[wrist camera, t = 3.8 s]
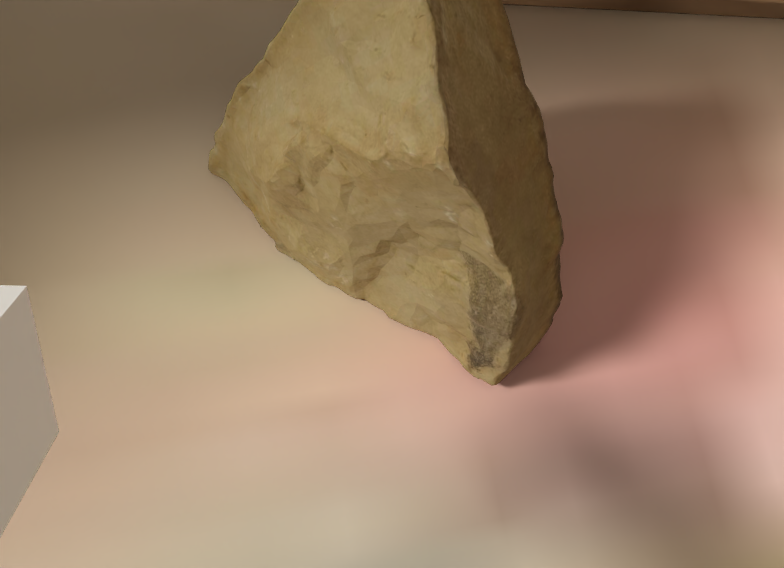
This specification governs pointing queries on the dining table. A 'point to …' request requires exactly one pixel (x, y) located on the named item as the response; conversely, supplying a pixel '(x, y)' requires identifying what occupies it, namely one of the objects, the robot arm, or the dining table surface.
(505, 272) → the rock
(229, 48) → the dining table surface
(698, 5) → the crate
